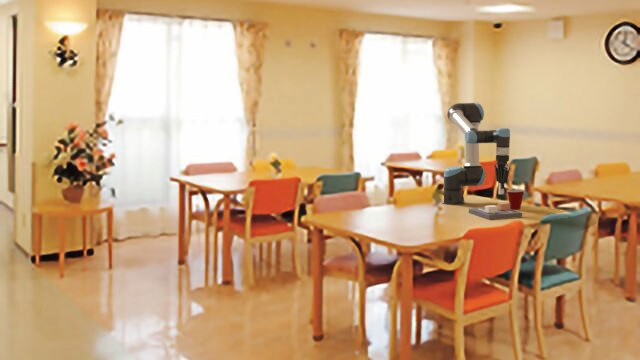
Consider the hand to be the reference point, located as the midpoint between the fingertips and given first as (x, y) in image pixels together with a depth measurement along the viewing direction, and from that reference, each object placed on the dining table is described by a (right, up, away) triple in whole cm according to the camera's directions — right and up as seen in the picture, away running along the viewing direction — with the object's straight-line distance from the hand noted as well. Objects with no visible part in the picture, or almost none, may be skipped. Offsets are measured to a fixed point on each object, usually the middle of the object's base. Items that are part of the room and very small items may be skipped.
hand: (501, 193), depth 384 cm
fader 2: (+1, -9, -2) cm, 9 cm away
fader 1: (-9, -10, -11) cm, 17 cm away
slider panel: (-5, -12, -3) cm, 14 cm away
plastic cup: (+13, -10, +15) cm, 22 cm away
